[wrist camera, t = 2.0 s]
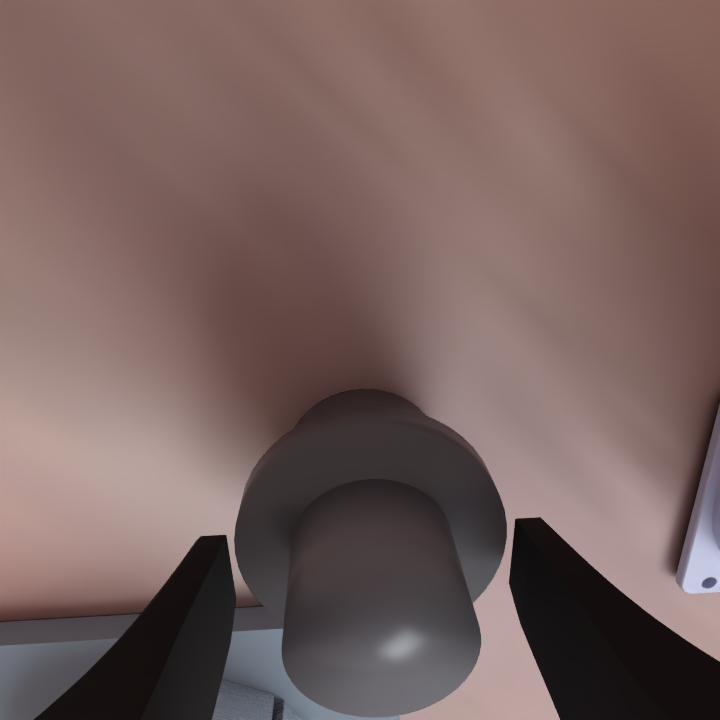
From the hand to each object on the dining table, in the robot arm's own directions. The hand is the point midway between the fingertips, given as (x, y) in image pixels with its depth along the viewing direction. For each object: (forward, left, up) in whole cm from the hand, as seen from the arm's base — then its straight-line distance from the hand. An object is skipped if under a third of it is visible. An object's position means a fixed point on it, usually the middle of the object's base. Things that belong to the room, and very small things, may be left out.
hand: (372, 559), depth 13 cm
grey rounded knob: (0, 0, -4) cm, 4 cm away
